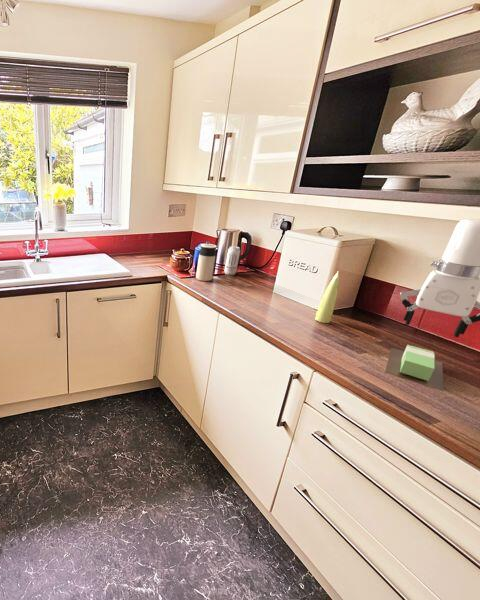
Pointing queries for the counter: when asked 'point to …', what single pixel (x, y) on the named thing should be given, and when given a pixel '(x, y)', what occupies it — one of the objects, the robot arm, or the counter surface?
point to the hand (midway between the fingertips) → (430, 329)
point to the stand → (394, 369)
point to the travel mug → (206, 262)
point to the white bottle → (232, 260)
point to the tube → (328, 301)
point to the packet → (417, 362)
